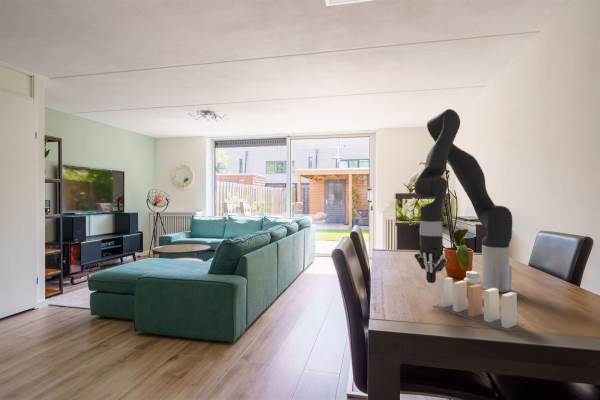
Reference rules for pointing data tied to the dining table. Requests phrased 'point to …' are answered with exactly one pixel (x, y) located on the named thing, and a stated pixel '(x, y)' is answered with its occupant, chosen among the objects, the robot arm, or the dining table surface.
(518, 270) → the dining table surface
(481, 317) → the mat
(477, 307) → the domino
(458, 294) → the domino
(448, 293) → the domino
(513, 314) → the domino
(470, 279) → the supplement bottle
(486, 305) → the domino
